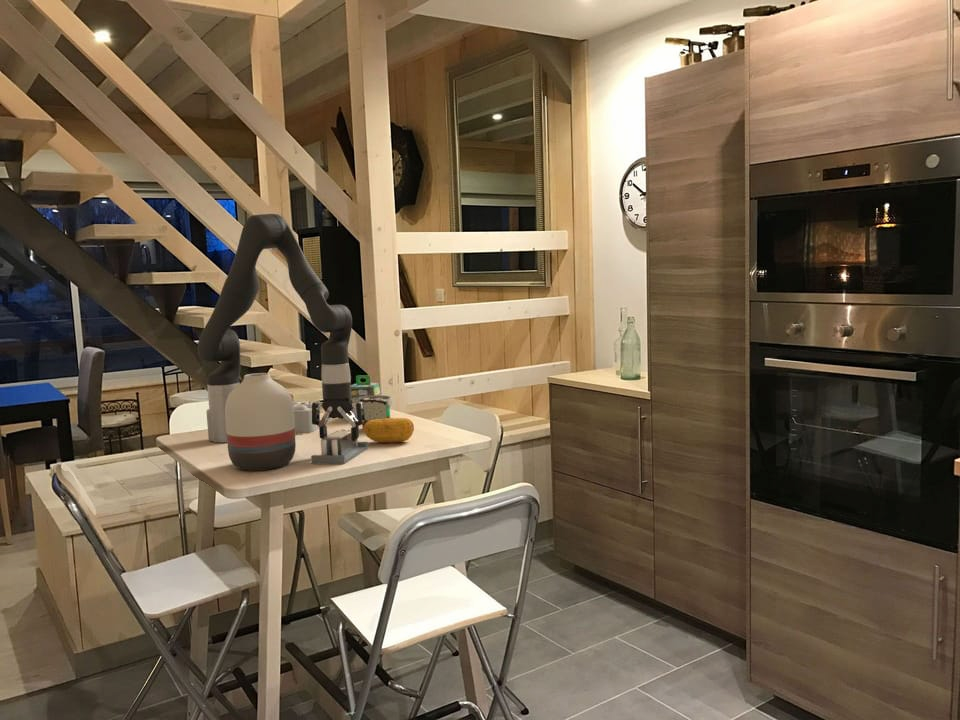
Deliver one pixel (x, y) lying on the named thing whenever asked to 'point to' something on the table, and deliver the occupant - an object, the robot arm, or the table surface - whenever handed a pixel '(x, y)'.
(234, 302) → the robot arm
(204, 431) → the table surface
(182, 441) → the table surface
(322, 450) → the grey pegged block
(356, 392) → the chalk box
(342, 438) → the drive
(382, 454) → the table surface
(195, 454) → the table surface
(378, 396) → the food container
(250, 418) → the vase
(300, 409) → the lumpy-topped squat cylinder
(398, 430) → the potato
